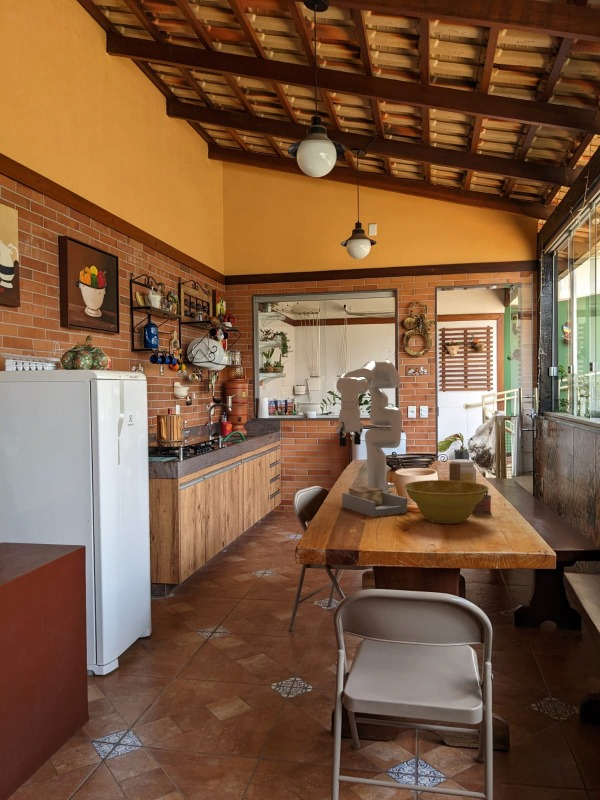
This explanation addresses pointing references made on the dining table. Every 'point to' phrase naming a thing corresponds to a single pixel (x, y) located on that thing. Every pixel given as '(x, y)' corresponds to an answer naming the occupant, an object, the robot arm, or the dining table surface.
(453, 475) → the wooden block
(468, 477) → the supplement tub
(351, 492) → the crate
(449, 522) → the planter bowl
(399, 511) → the bay
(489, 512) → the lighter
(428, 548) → the dining table surface
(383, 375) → the robot arm
